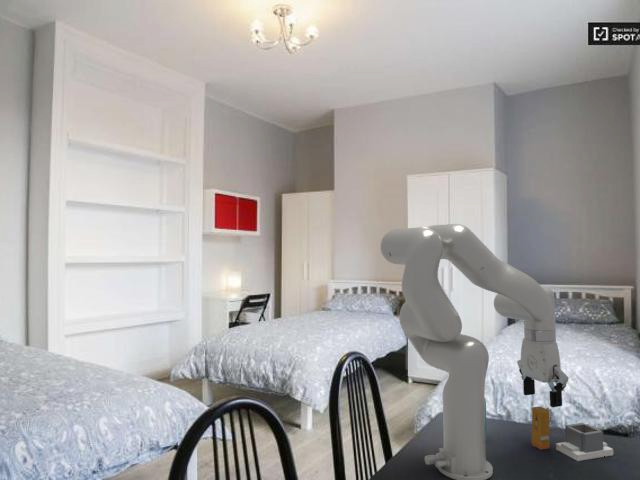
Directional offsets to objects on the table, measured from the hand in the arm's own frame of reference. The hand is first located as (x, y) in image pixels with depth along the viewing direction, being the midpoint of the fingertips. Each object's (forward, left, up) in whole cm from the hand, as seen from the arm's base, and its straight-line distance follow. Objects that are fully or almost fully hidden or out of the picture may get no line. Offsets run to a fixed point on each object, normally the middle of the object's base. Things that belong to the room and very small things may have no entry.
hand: (542, 400), depth 126 cm
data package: (-13, +13, -12) cm, 22 cm away
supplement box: (-1, 0, -12) cm, 12 cm away
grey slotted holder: (+7, -6, -12) cm, 15 cm away
